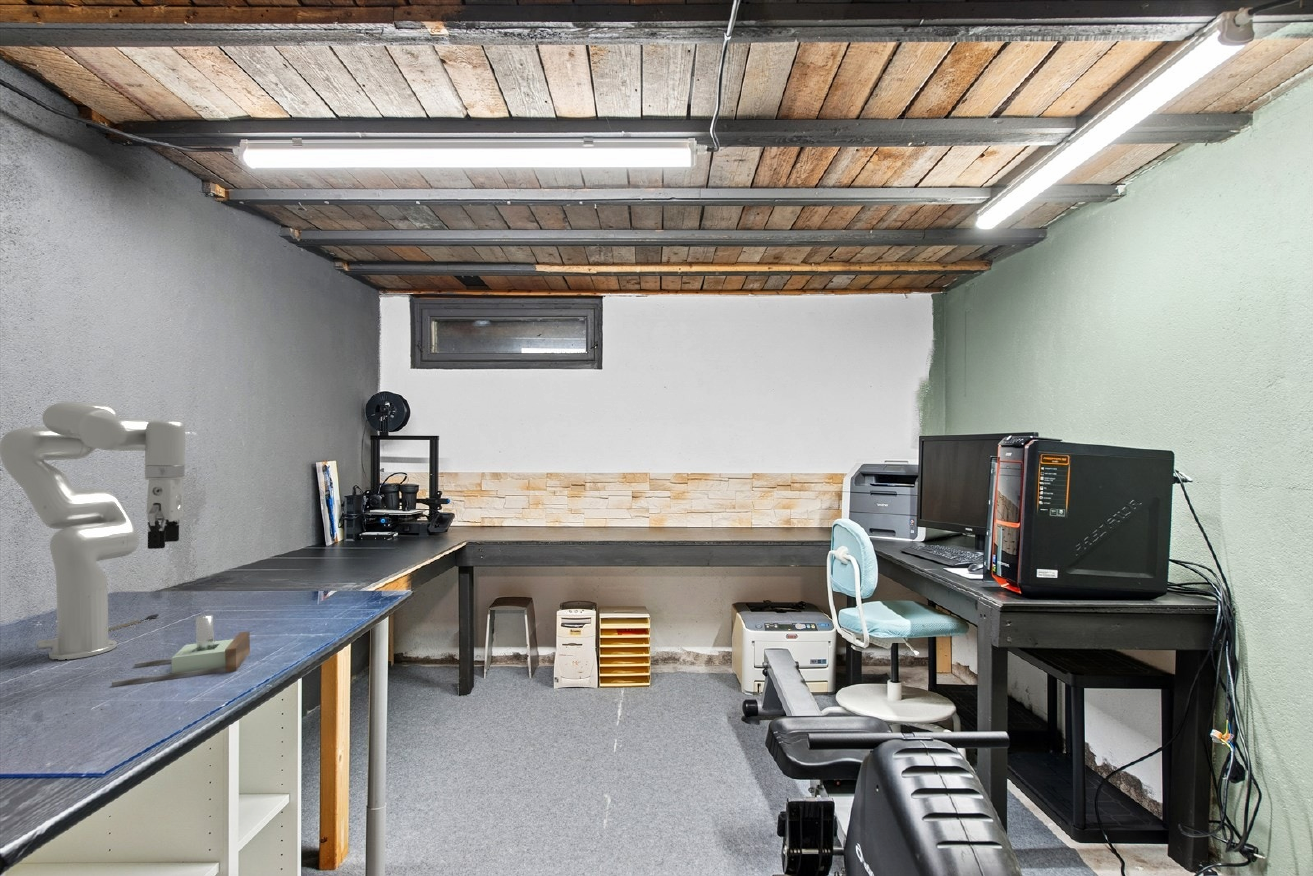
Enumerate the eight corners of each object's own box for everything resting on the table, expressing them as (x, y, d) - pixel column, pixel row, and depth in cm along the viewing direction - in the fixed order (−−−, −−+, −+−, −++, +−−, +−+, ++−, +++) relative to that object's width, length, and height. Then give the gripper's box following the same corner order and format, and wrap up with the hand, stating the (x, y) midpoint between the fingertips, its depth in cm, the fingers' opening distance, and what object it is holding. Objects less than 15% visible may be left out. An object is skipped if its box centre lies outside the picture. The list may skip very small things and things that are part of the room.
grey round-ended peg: (212, 662, 144) (211, 617, 144) (195, 664, 143) (193, 619, 143) (215, 658, 147) (214, 614, 147) (199, 660, 146) (197, 615, 146)
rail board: (86, 697, 131) (85, 666, 131) (114, 674, 144) (113, 646, 144) (236, 676, 141) (235, 648, 141) (250, 657, 154) (249, 631, 154)
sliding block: (171, 676, 138) (171, 657, 138) (186, 662, 148) (185, 644, 148) (226, 669, 142) (226, 651, 142) (237, 655, 151) (236, 638, 151)
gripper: (171, 475, 147) (170, 550, 147) (194, 470, 163) (193, 538, 163) (131, 475, 144) (129, 552, 145) (158, 470, 161) (157, 539, 161)
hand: (163, 544), depth 154 cm, fingers open, 9 cm apart
